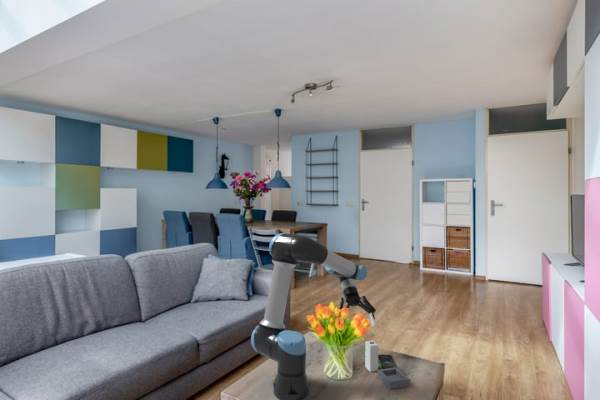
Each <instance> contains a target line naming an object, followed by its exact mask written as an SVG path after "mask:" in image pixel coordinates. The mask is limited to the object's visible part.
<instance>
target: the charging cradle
mask: <svg viewBox="0 0 600 400" xmlns="http://www.w3.org/2000/svg"><path fill="white" fill-rule="evenodd" d="M377 378H378V379H380V381H381V382H382V383H383V384H384V385H385V386H386V387H387V389H389V390H391V389H392V390H393V389H399V388H404V387H405V388H406V387H409V386H410V378H409V377H408V376H406V374H404V373H403V372H402V371H401V370H400V369H399V368H398V367H397V368H396V367H395V368H388V369H378V371H377Z"/></svg>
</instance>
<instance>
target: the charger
mask: <svg viewBox="0 0 600 400" xmlns="http://www.w3.org/2000/svg"><path fill="white" fill-rule="evenodd" d="M364 344H365V345H364V347H365V354H364V358H365V359H364V360H365V361H364V363H365V364H364V365H365V368H366V369H367V370H368V371H369V372H370V373H371V372H378V370H379V361H378V355H379V344H378V343H377V342H375V341H374V340H367V341H365V343H364Z"/></svg>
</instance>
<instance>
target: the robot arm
mask: <svg viewBox="0 0 600 400" xmlns="http://www.w3.org/2000/svg"><path fill="white" fill-rule="evenodd" d="M268 252H269V254H270V255H271V262H272V264H273V270H272V273H271V274H272V275H271V280H270V285H269V290H268V296H267V300H266V305H265V311H264V317H263V318H262V319H261V321H259V324H258V325H257V326H255V328H254V329H253V330H252V334H251V337H250V343H251V346H252V348H253V350H254V351H255V352H256V353H258V354H260V355H261V356H264V357H266V358H267V359H270V360H272V361H274V362H275V363H276V362H277V363H276V364H277V372H276V373H277V374H276V375H275V379H274V382H273V387H272V389H273V390H272V391H273V394H274V396H275V397H276V398H277V399H279V400H304V399H305V398H306V397H308V396H309V394H310V391H311V390H310V382H309V380H308V377H307V372H306V369H307V368H306V367H307V366H306V365H307V364H306V363H307V345H306V338H305V336H304V335H303V334H302V333H300V332H299V331H297V330H290V329H288V330H286V325H285V324H284V317H285V311H286V307H287V301H288V300H287V299H288V295H289V291H290V284H291V278H292V273H293V269H294V268H295V267H297V266H298V265H297V264H298V263H299V262H301V263H307V264H313V265H315V266H323V267H324V269H325V272H327V273H328V274H330V275H332V276H333V277H336V278H338V280H339V283H340V285H341V290H342V291H343V292H342V293H343V296H344V297H340V300H339V303H340V305H339V309H342V308H344V305H345V303H346V304H347V305H346V307H345V309H346V308H348V309H349V308H350V307H359V308H361V309H362V310H364V311H365V312H366V313H367V314H368V317H369V320H370V324H371V327H372V328H375V327H376V325H377V324H376V322H375V319H376V317H375V315H374V314H375V312H376V311H377V309H376V308H375V307H374V306H373V305H372V303H371V302H370V301H369V299H368V298H367V297H366V295H362V296H360V295H359V291H358V288H357V285H356V282H355V280H356V281H364V280H365V279H366V278H367V277H368V276H367V275H368V269H367V267H366V266H365V265H361V264H356V263H355V262H353V261H351V260H348V259H346V258H344V257H343V256H341V255H339V254H337V253H335V252H333V251H332V250H329V249H328V247H327V246H326V245H324V244H323V243H321V242H318V241H317V240H315V239H313V238H311V237H309V236H306V235H299V234H294V233H293V234H292V233H285V232H284V233H277V234H276V235H275V236H273V237H272V238H271V240H270V242H269V246H268ZM339 309H338V310H339Z"/></svg>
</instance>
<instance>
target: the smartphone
mask: <svg viewBox="0 0 600 400" xmlns="http://www.w3.org/2000/svg"><path fill="white" fill-rule="evenodd" d="M378 365H379V366H380V370H382V369H388V368H395V367H396V368H398V367H397V364H396V363H395V360H394V357H393V356H392V355H391V354H378Z"/></svg>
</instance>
